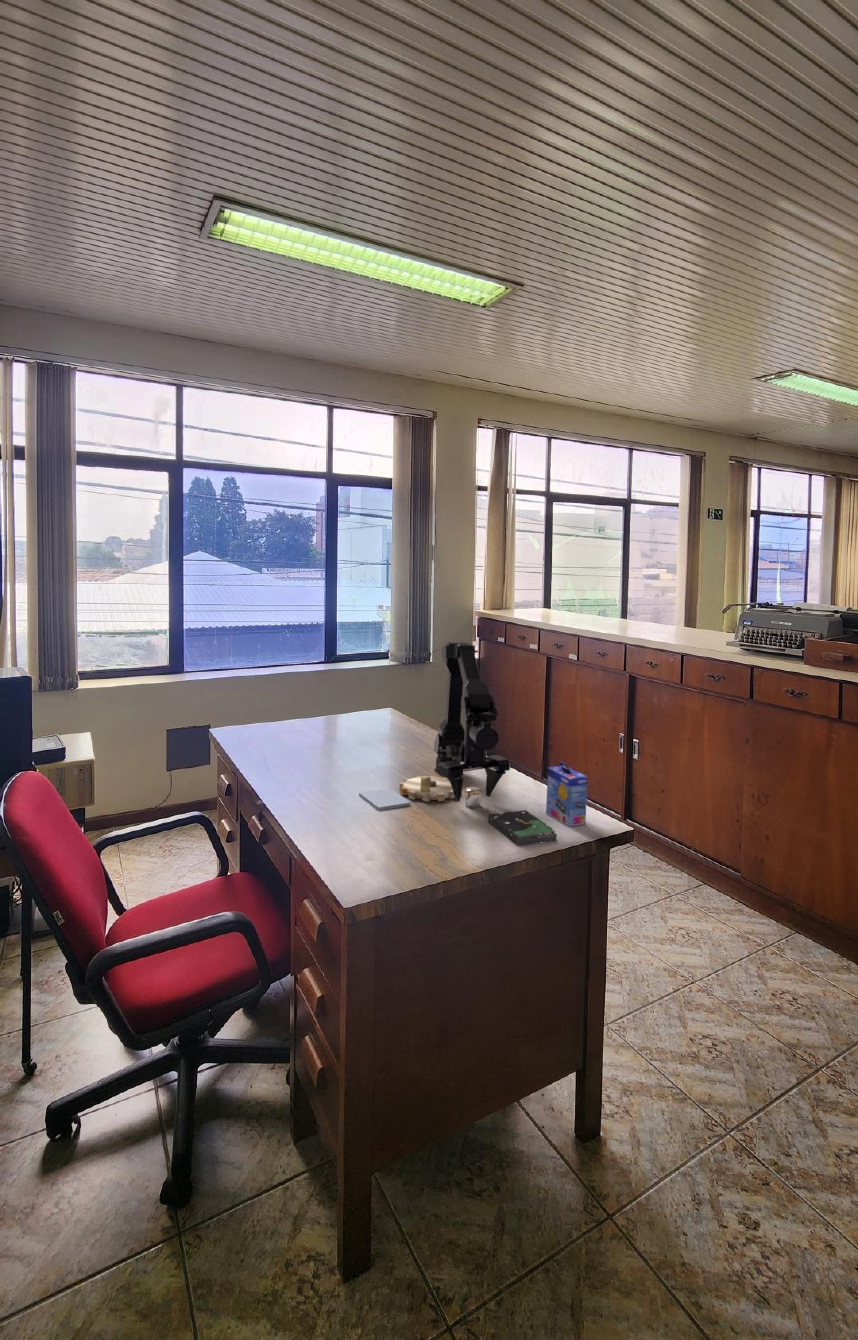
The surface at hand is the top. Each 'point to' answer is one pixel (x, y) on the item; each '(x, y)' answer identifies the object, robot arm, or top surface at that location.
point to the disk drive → (522, 828)
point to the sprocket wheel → (427, 788)
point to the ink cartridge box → (566, 795)
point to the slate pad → (384, 799)
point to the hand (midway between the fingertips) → (473, 798)
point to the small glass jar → (473, 797)
